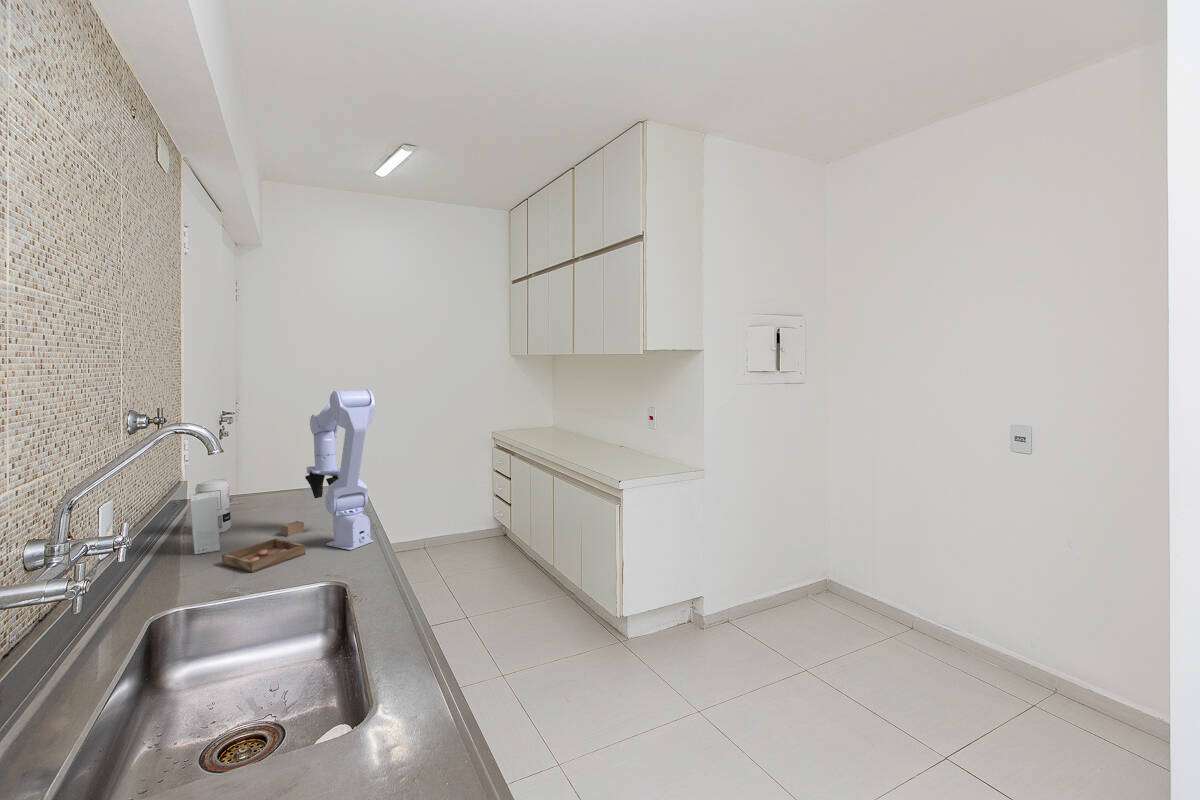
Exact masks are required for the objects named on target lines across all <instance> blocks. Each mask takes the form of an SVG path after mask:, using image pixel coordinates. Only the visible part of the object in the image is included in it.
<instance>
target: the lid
mask: <svg viewBox="0 0 1200 800" xmlns="http://www.w3.org/2000/svg"><path fill="white" fill-rule="evenodd" d="M280 529H281V536H283V535H284V537H287V536H289V537H292V536H295V535H294V534H296V535H299V534H302V533H305V522H304V521H298V520H295V521H292V522H289V523H286V524H282V525H281V528H280ZM301 532H302V533H301ZM298 533H299V534H298ZM291 535H292V536H291Z"/></svg>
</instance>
